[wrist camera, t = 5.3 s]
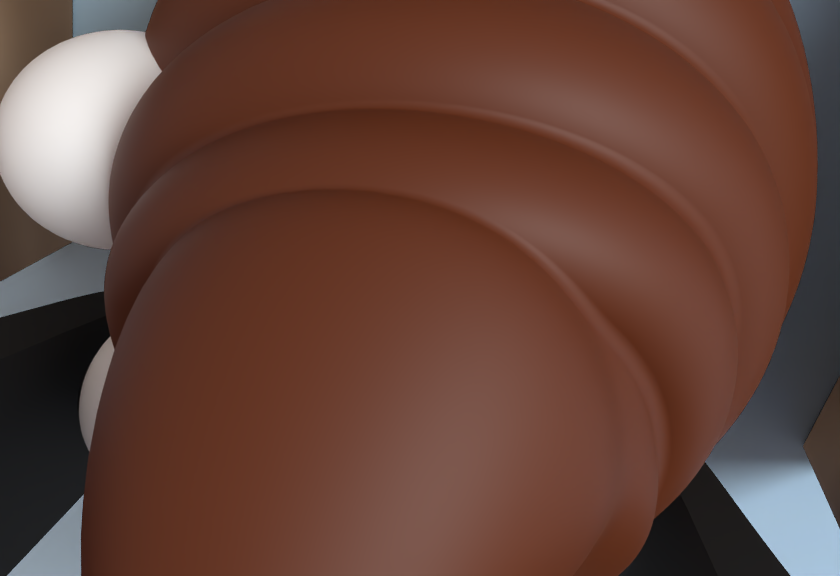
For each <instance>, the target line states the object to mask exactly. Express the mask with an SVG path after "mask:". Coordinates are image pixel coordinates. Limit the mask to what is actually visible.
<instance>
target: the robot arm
mask: <svg viewBox="0 0 840 576" xmlns="http://www.w3.org/2000/svg"><path fill="white" fill-rule="evenodd" d="M109 337H110V332H109V328H108V323H107V318H106V311H105V301H104V292H98V293H93V294H89V295H84V296H80V297H76V298H72V299H68V300H64V301H60V302H57V303H53V304H49V305H45V306H42V307H38V308H34V309H31V310H27V311H23V312H19V313H16V314H12V315H8V316H5V317H1V318H0V576H7V575H8V574H9V573H10V572H11V571H12V569H13V568H14V567H15V566H16V565H17V564H18V563H19V562H20V561H21V560H22V559H23V558H24V557H25V556H26V555H27V554H28V553H29V551H30V550H31V549H32V548H33V547H34V546H35V545H36V544H37V543H38V542H39V541H40V540H41V539H42V538H43V537H44V536H45V535H46V534H47V532H48V531H49V530H50V529H51V528H52V527H53V526H54V525H55V524H56V523H57V522H58V521H59V520H60V519H61V518H62V517H63V516H64V515H65V513H66V512H67V511H68V510H69V509H70V508H71V507H72V506H73V505H74V504H75V503H76V502H77V501H78V500H79V498H80V497H81V496H82V495H83V494H84V489H85V481H86V472H87V464H88V457H89V450H88V448H87V446H86V444H85V441H84V438H83V436H82V432H81V427H80V421H79V417H78V411H77V399H78V392H79V388H80V384H81V381H82V378H83V376H84V373H85V371H86V370H87V368H88V366H89V365H90V363H91V362H92V360H93V358H94V357H95V355H96V354H97V352H98V351H99V349H100V348H101V347H102V345H103V344H104V343H105V342H106V340H107V339H108V338H109ZM618 576H790V575H789V573H788V572H787V571H786V569H785V568H784V567H783V566H782V564H781V563H780V562H779V560H778V559H777V558H776V557H775V555H774V554H773V553H772V551H771V550H770V549H769V547H768V546H767V545H766V543H765V542H764V541H763V539H762V538H761V537H760V535H759V534H758V533H757V531H756V530H755V529H754V527H753V526H752V525H751V523H750V522H749V521H748V519H747V518H746V517H745V515H744V514H743V513H742V511H741V510H740V508H739V507H738V506H737V504H736V503H735V502H734V500H733V499H732V498H731V496H730V495H729V493H728V492H727V491H726V489H725V488H724V487H723V485H722V484H721V483H720V481H719V480H718V479H717V477H716V476H715V475H714V473H713V472H712V471H711V469H710V468H709V467H708V465H707V464H706V463H704V464H703V466H702V467H701V469H700V470H699V471H698V473H697V474H696V476H695V477H694V478H693V479H692V481H691V482H690V483H689V484H688V486H687V487H686V488H685V489H684V490H683V491H682V492H681V494H680V495H679V496H678V497H677V498H676V499H675V500H674V501H673V502H672V503H671V504H670V505H669V506H668V507H667V508H666V509H665V510H664V511H662V512H661V513H660V514H659V515H658V516H657V517H656V518H654V520H653V523H652V527H651V530H650V532H649V535H648V537H647V540H646V542H645V544H644V545H643V547H642V549H641V551H640V552H639V554H638V555H637V556H636V558H635V559H634V560H633V562H632V563H631V564H630V565H629V566H628V567H627V568H626V569H625V570H624V571H623V572H622V573H621V574H619V575H618Z"/></svg>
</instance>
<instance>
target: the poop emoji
mask: <svg viewBox="0 0 840 576" xmlns="http://www.w3.org/2000/svg"><path fill="white" fill-rule="evenodd" d="M817 169H818V157H817V130H816V118H815V107H814V100H813V92H812V85H811V80H810V74H809V69H808V64H807V59H806V55H805V50H804V46H803V42H802V39H801V35H800V31H799V28H798V25H797V21H796V18H795V15H794V12H793V9H792V6H791V4H790V1H789V0H158V1H157V3H156V5H155V8H154V10H153V13H152V16H151V18H150V21H149V24H148V27H147V30H146V32H142V31H133V30H107V31H99V32H93V33H88V34H84V35H80V36H77V37H74V38H71V39H69V40H66V41H63V42H61V43H59V44H57V45H55V46H54V47H52V48H50V49H48V50H46V51H45V52H43V53H42V54H40V55H39V56H38V57H36V58H35V59H34V60H32V61H31V62H30V63H29V64H28V65H27V66H26V67H25V68H24V69H23V70H22V71H21V72H20V73H19V74H18V76H17V77H16V78H15V79H14V80H13V82H12V84H11V85H10V87H9V88H8V90H7V92H6V93H5V95H4V97H3V99H2V101H1V104H0V175H1V177H2V179H3V182H4V184H5V186H6V187H7V189H8V191H9V192H10V194H11V196H12V197H13V198H14V200H15V201H16V202H17V204H18V205H19V206H20V207H21V208H22V209H23V211H25V212H26V213H27V214H28V215H29V216H30V217H31V218H32V219H33V220H34V221H36V222H37V223H38V224H40V225H41V226H43V227H44V228H46V229H47V230H49V231H51V232H52V233H54V234H56V235H58V236H60V237H62V238H64V239H67V240H69V241H72V242H75V243H78V244H81V245H84V246H88V247H93V248H98V249H105V250H111V251H110V255H109V258H108V262H107V267H106V273H105V281H104V301H105V311H106V318H107V323H108V328H109V332H110V337H109V338H108V339H107V340H106V342H105V343H104V344H103V345H102V347H101V348H100V349H99V351H98V352H97V354H96V355H95V357H94V358H93V360H92V362H91V363H90V365H89V366H88V368H87V370H86V371H85V373H84V376H83V378H82V381H81V384H80V388H79V392H78V399H77V411H78V417H79V421H80V427H81V432H82V436H83V438H84V441H85V444H86V446H87V448H88V450H89V457H88V464H87V472H86V481H85V489H84V499H83V511H82V528H81V576H618V575H619V574H621V573H622V572H623V571H624V570H625V569H626V568H627V567H628V566H629V565H630V564H631V563H632V562H633V560H634V559H635V558H636V556H637V555H638V554H639V552H640V551H641V549H642V547H643V545H644V544H645V542H646V540H647V537H648V535H649V532H650V530H651V527H652V523H653V520H654V518H656V517H657V516H658V515H659V514H660V513H661V512H662V511H664V510H665V509H666V508H667V507H668V506H669V505H670V504H671V503H672V502H673V501H674V500H675V499H676V498H677V497H678V496H679V495H680V494H681V492H682V491H683V490H684V489H685V488H686V487H687V486H688V484H689V483H690V482H691V481H692V479H693V478H694V477H695V476H696V474H697V473H698V471H699V470H700V469H701V467H702V466H703V464H704V463H705V461H706V460H707V458H708V456H709V455H710V453H711V451H712V450H713V448H714V446H715V445H716V444H717V443H718V441H719V440H720V439H721V438H722V437H723V436H724V435H725V433H726V432H727V431H728V430H729V428H730V427H731V426H732V425H733V423H734V422H735V421H736V419H737V418H738V417H739V415H740V414H741V412H742V411H743V410H744V408H745V407H746V405H747V403H748V402H749V400H750V399H751V397H752V395H753V394H754V392H755V390H756V389H757V387H758V385H759V383H760V381H761V379H762V377H763V375H764V373H765V371H766V369H767V366H768V364H769V362H770V360H771V357H772V354H773V352H774V349H775V346H776V343H777V340H778V337H779V334H780V330H781V326H782V323H783V321H784V319H785V317H786V315H787V313H788V310H789V308H790V306H791V303H792V301H793V298H794V296H795V293H796V290H797V288H798V285H799V282H800V279H801V276H802V272H803V269H804V265H805V262H806V258H807V254H808V250H809V245H810V240H811V235H812V230H813V223H814V217H815V208H816V195H817Z"/></svg>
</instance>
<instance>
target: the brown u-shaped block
mask: <svg viewBox="0 0 840 576" xmlns="http://www.w3.org/2000/svg"><path fill="white" fill-rule="evenodd" d="M71 38H73V0H0V104H1V101H2V99H3V97H4V95H5V93H6V92H7V90H8V88H9V87H10V85H11V84H12V82H13V80H14V79H15V78H16V77H17V76H18V74H19V73H20V72H21V71H22V70H23V69H24V68H25V67H26V66H27V65H28V64H29V63H30V62H31V61H32V60H34V59H35V58H36V57H38V56H39V55H40V54H42V53H43V52H45V51H46V50H48V49H50V48H52V47H54V46H55V45H57V44H59V43H61V42H63V41H66V40H69V39H71ZM70 243H72V241H69V240H67V239H64V238H62V237H60V236H58V235H56V234H54V233H52V232H51V231H49V230H47V229H46V228H44V227H43V226H41V225H40V224H38V223H37V222H36V221H34V220H33V219H32V218H31V217H30V216H29V215H28V214H27V213H26V212H25V211H23V209H22V208H21V207H20V206H19V205H18V204H17V202H16V201H15V200H14V198H13V197H12V196H11V194H10V192H9V191H8V189H7V187H6V186H5V184H4V182H3V179H2V177H1V175H0V281H2V280H4V279H6V278H8V277H9V276H11V275H13V274H15V273H17V272H19V271H20V270H22V269H24V268H26V267H28V266H30V265H31V264H33V263H35V262H37V261H39V260H41V259H42V258H44V257H46V256H48V255H50V254H51V253H53V252H55V251H57V250H59V249H61V248H62V247H64V246H66V245H68V244H70ZM803 448H804V450H805V452H806V454H807V457H808V459H809V461H810V463H811V466H812V468H813V470H814V472H815V474H816V477H817V479H818V481H819V483H820V486H821V488H822V490H823V492H824V494H825V497H826V499H827V501H828V503H829V506H830V508H831V510H832V512H833V515H834V517H835V519H836V521H837V523H838V526H839V528H840V376H839V378H838V380H837V382H836V384H835V386H834V388H833V390H832V392H831V393H830V395H829V397H828V399H827V401H826V403H825V405H824V407H823V409H822V411H821V413H820V414H819V416H818V418H817V420H816V422H815V424H814V426H813V428H812V430H811V432H810V434H809V435H808V437H807V439H806V441H805V443H804V445H803Z"/></svg>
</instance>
